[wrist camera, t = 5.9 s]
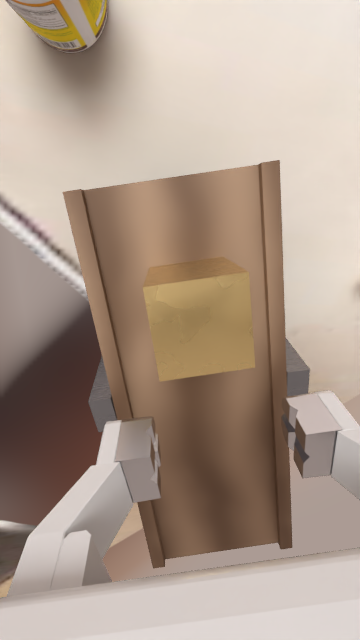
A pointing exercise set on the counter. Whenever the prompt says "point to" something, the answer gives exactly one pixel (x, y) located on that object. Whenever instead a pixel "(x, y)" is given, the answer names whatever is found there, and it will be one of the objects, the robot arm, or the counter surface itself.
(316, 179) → the counter surface
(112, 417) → the trestle
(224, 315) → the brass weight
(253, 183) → the beam
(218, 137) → the counter surface
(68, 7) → the supplement bottle
